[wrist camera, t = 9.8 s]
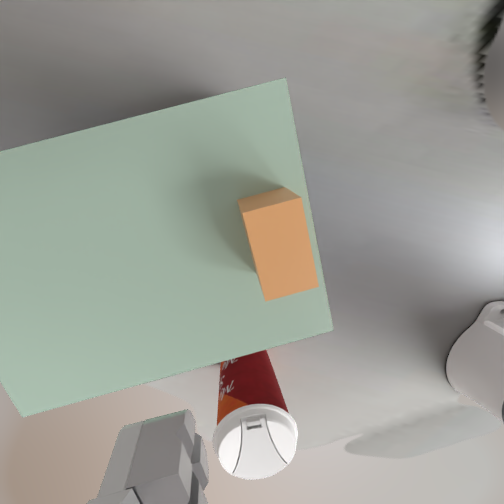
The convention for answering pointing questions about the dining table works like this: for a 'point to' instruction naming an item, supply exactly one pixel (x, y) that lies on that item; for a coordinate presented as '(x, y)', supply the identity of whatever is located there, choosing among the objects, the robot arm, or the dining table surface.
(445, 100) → the dining table surface
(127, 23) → the dining table surface
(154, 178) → the lid
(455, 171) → the dining table surface
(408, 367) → the dining table surface
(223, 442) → the coffee cup
